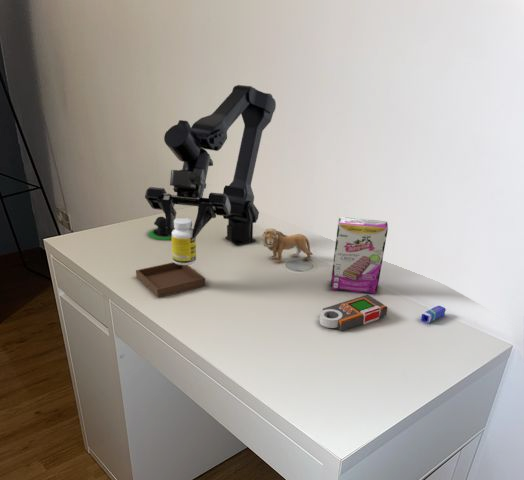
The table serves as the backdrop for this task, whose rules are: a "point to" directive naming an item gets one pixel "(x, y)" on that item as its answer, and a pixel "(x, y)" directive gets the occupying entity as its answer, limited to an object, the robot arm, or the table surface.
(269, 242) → the lion figurine
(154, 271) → the tray
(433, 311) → the eraser
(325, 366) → the table surface
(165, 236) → the toy figurine
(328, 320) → the electronic device
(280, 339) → the table surface
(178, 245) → the supplement bottle
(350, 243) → the candy bar box
